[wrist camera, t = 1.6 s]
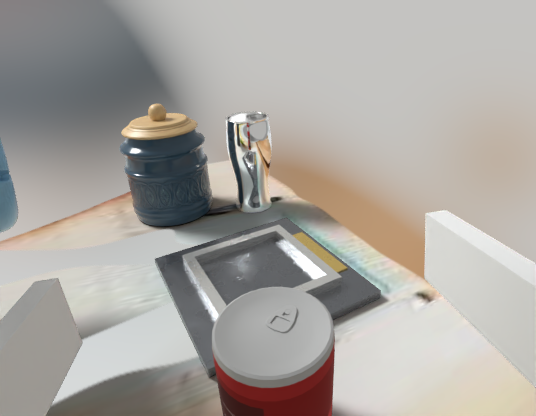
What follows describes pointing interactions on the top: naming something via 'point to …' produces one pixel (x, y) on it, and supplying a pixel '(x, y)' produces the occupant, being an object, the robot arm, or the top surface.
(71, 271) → the top surface
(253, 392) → the canned food
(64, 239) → the top surface
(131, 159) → the canister
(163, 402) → the top surface
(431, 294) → the top surface
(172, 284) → the plate
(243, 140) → the beer glass
